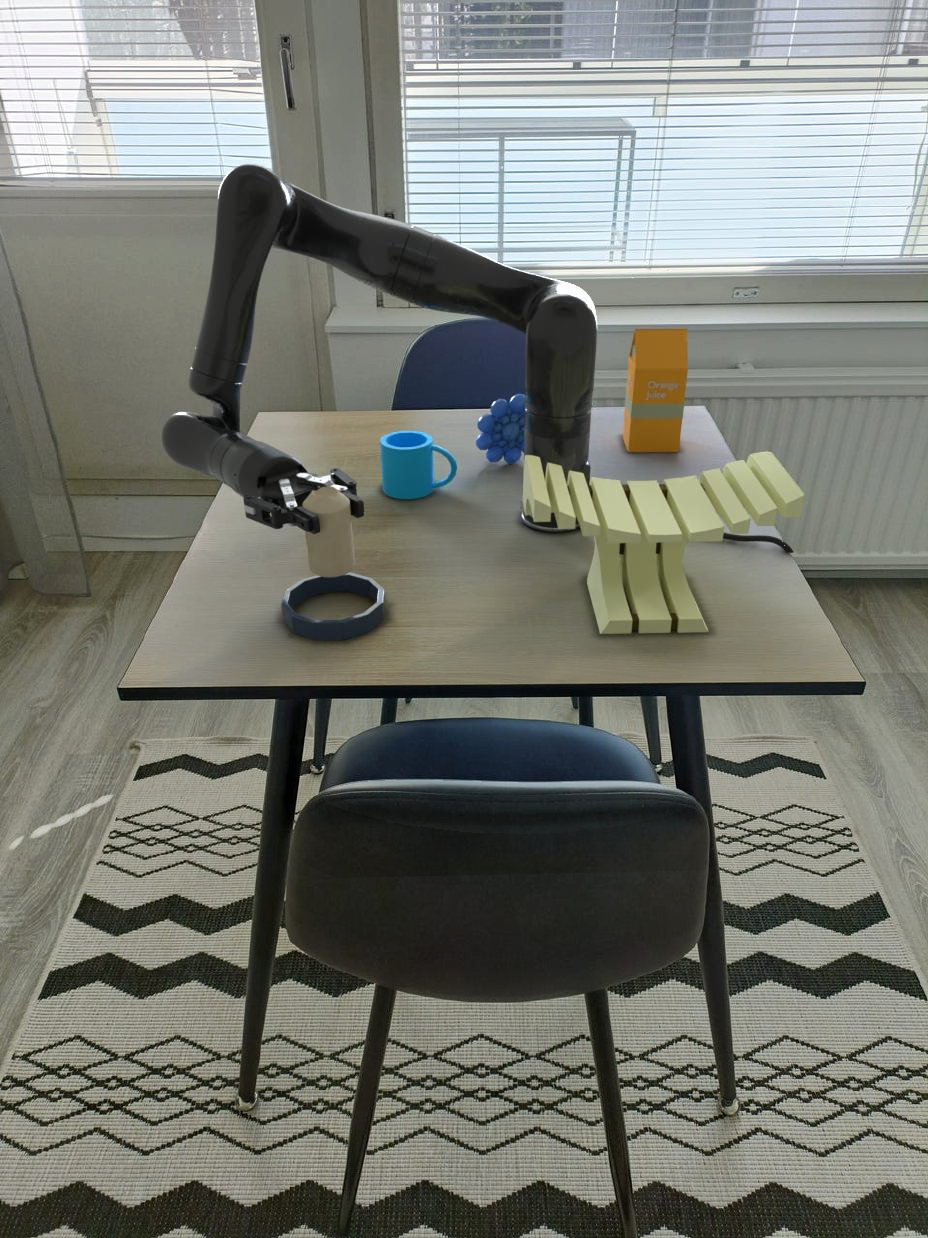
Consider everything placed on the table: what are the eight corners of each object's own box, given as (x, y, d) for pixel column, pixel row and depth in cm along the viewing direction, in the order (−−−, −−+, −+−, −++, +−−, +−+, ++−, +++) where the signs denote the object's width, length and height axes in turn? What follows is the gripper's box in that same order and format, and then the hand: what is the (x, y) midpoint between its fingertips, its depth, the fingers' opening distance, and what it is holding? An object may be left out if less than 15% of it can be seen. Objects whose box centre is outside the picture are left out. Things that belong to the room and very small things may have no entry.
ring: (386, 588, 125) (385, 571, 124) (381, 639, 115) (380, 621, 114) (291, 590, 125) (289, 573, 124) (278, 641, 115) (275, 623, 113)
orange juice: (679, 452, 165) (692, 334, 155) (627, 452, 165) (637, 335, 155) (671, 435, 172) (683, 322, 161) (621, 435, 172) (630, 322, 161)
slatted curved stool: (743, 568, 129) (763, 442, 120) (778, 631, 116) (804, 494, 106) (521, 571, 129) (524, 446, 120) (530, 635, 115) (534, 498, 106)
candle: (347, 579, 114) (340, 502, 109) (303, 575, 115) (294, 499, 110) (360, 558, 118) (354, 483, 113) (318, 554, 119) (310, 480, 114)
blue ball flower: (543, 453, 165) (545, 385, 159) (546, 468, 159) (548, 398, 153) (475, 454, 165) (475, 385, 159) (476, 469, 159) (475, 399, 153)
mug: (377, 497, 150) (374, 447, 146) (389, 477, 157) (387, 429, 153) (452, 502, 148) (451, 452, 144) (461, 481, 155) (461, 433, 151)
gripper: (207, 462, 116) (283, 506, 105) (308, 432, 124) (387, 470, 113) (217, 518, 120) (290, 566, 109) (313, 486, 128) (390, 528, 117)
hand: (339, 517), depth 111 cm, fingers closed on candle, 5 cm apart
